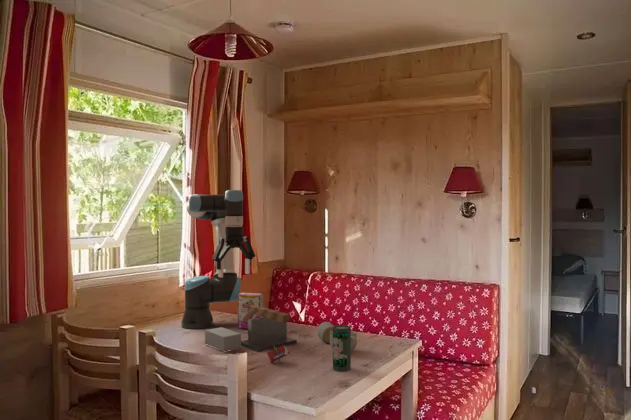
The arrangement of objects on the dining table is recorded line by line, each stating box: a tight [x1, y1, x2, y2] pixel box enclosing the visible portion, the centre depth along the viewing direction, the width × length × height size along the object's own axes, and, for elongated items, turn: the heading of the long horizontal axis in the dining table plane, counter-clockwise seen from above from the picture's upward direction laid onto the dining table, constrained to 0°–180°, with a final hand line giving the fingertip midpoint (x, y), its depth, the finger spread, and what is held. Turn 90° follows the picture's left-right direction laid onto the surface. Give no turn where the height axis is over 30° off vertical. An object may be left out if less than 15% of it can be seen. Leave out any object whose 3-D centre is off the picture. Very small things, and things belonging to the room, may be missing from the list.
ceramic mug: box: [316, 321, 334, 344], centre depth 228 cm, size 11×8×8 cm
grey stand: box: [204, 326, 242, 352], centre depth 221 cm, size 15×8×6 cm, turn 40°
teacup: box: [329, 330, 358, 353], centre depth 211 cm, size 14×11×8 cm
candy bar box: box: [237, 292, 264, 330], centre depth 251 cm, size 11×5×16 cm, turn 74°
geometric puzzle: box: [266, 345, 289, 365], centre depth 198 cm, size 7×7×8 cm
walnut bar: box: [248, 305, 291, 323], centre depth 223 cm, size 26×3×3 cm, turn 40°
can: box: [332, 324, 352, 372], centre depth 191 cm, size 6×6×15 cm
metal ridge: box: [241, 317, 298, 353], centre depth 224 cm, size 14×20×12 cm
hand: (234, 275), depth 229 cm, fingers open, 13 cm apart
